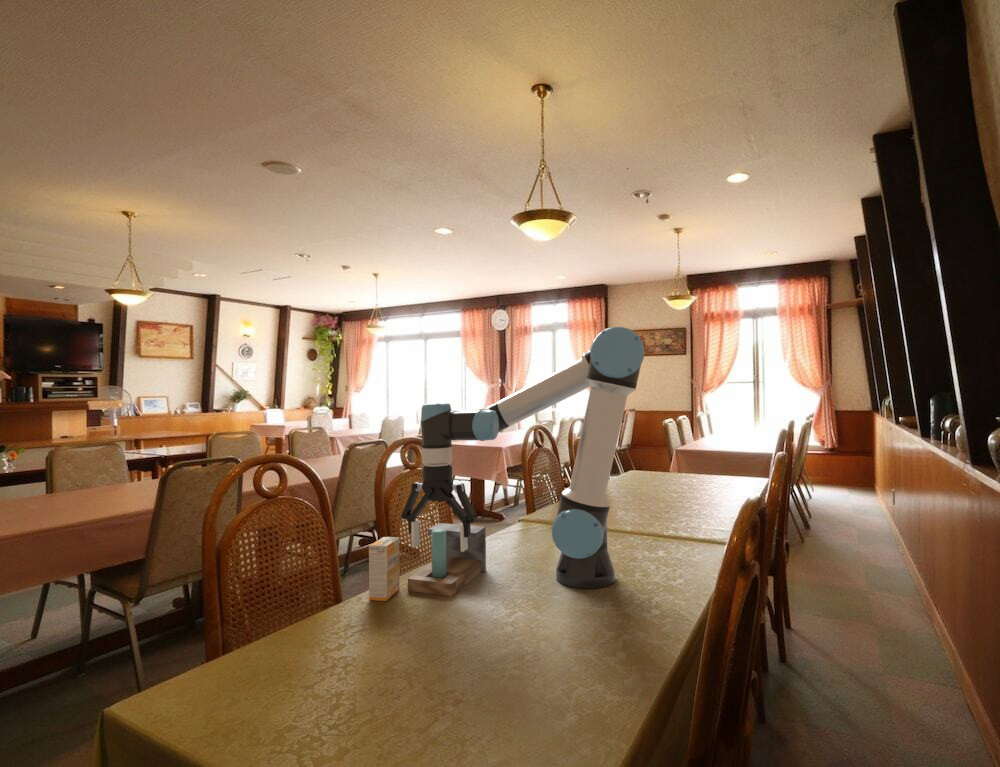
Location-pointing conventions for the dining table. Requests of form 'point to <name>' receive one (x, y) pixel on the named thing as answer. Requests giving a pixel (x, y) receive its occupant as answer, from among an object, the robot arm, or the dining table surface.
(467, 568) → the socket station
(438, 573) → the peg
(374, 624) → the dining table surface
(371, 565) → the supplement box
